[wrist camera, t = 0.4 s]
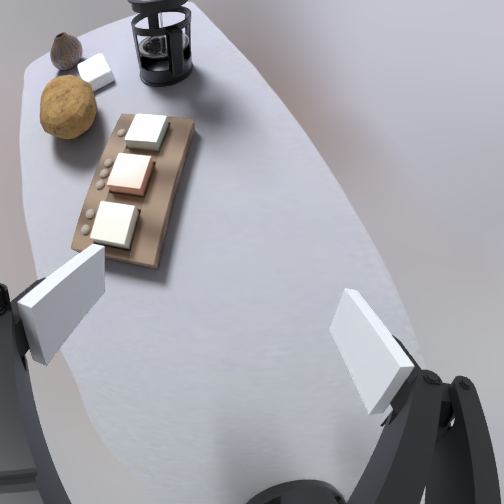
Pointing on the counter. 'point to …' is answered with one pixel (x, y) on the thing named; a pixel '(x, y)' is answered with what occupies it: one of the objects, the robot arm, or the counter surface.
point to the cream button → (115, 225)
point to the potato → (67, 107)
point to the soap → (96, 71)
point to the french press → (162, 42)
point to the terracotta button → (131, 175)
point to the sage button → (147, 132)
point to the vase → (65, 51)
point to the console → (150, 208)
